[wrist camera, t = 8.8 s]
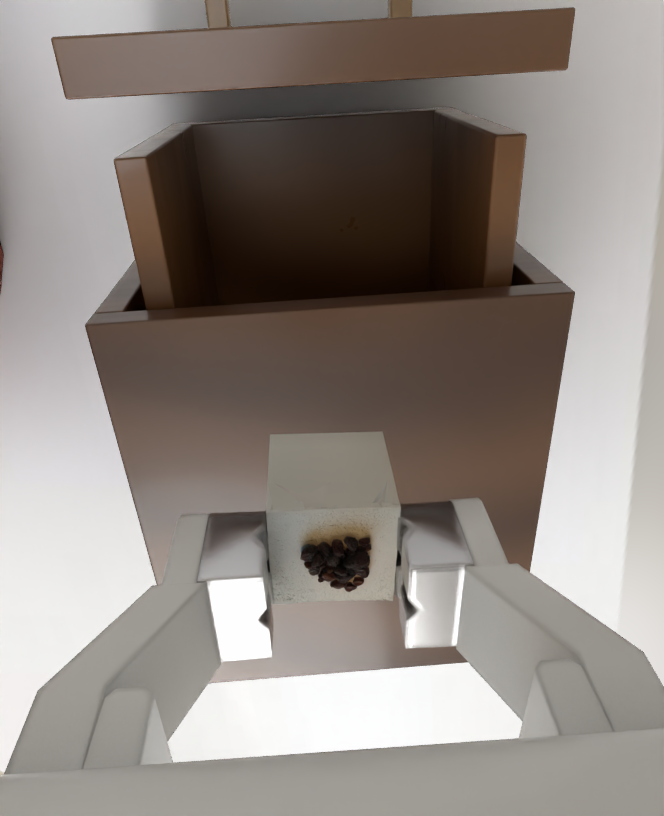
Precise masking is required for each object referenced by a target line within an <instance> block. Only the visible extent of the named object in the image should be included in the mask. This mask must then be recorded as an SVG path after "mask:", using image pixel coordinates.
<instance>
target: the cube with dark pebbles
mask: <svg viewBox="0 0 664 816" xmlns="http://www.w3.org/2000/svg"><path fill="white" fill-rule="evenodd" d="M400 510H401V506H400V503H399V499H398V495H397V490H396V485H395V481H394V477H393V472H392V468H391V464H390V460H389V456H388V452H387V448H386V444H385V440H384V435H383V432H346V433H309V434H271V435H270V446H269V465H268V483H267V508H266V520H267V531H268V546H269V554H270V556H269V565H270V573H271V574H272V583H273V593H274V603H273V604H272V605H275V604H290V603H291V604H293V603H299V602H309V603H310V602H319V601H342V600H343V601H344V600H350V601H351V600H374V601H376V600H382V601H383V600H384V599H386V600H389V601H393V594H394V586H395V572H396V559H397V527H398V517H400V512H401V511H400Z"/></svg>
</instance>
